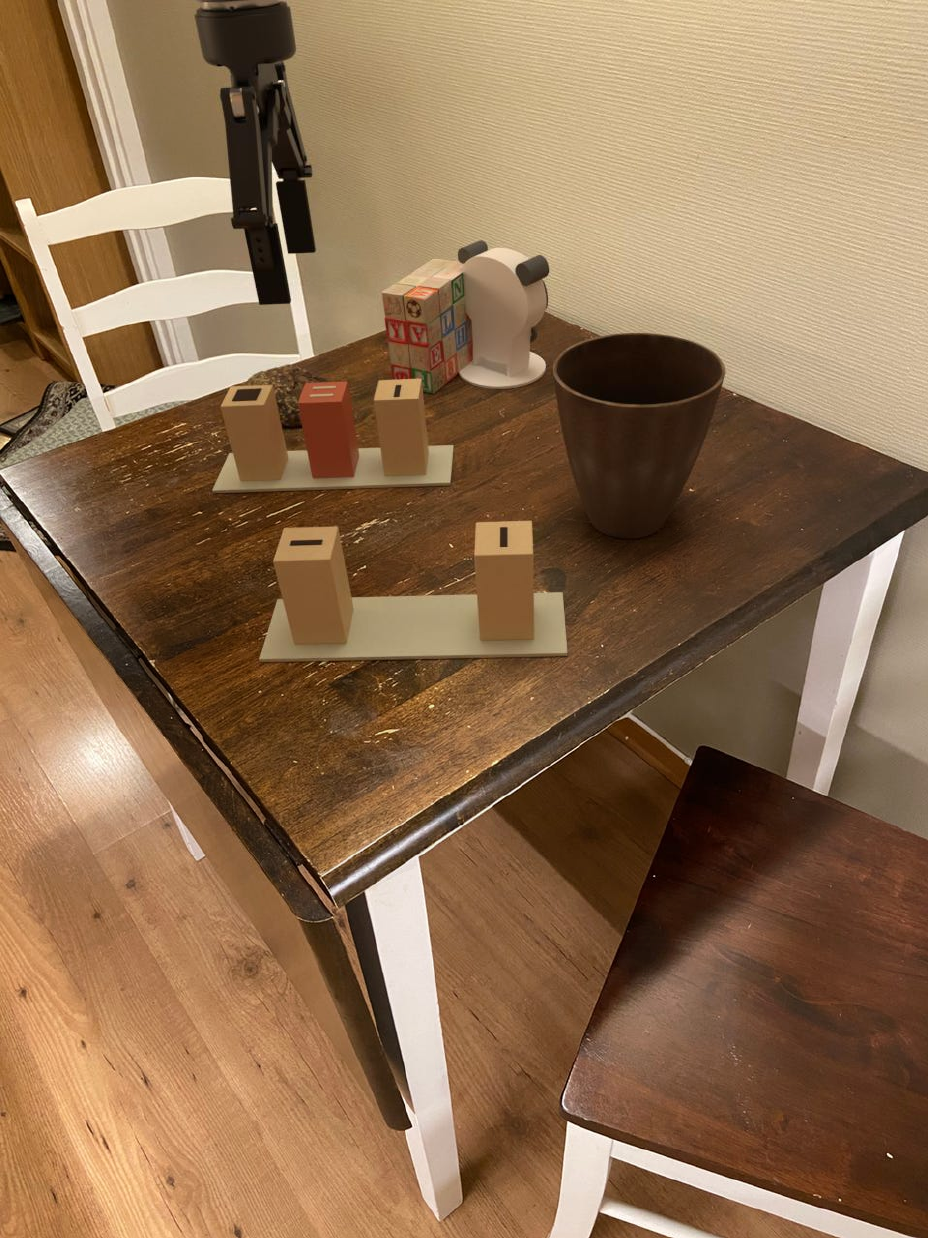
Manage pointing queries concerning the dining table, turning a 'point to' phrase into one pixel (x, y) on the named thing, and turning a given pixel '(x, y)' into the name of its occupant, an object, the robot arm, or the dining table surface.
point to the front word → (412, 606)
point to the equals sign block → (329, 429)
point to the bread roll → (286, 389)
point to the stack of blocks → (428, 325)
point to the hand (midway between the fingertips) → (289, 276)
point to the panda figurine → (503, 315)
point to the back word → (274, 468)
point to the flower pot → (634, 424)
